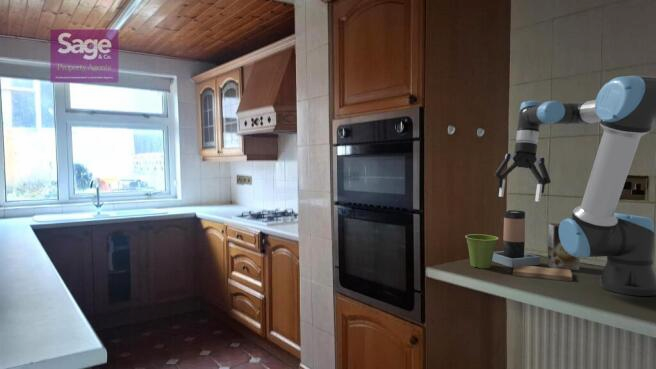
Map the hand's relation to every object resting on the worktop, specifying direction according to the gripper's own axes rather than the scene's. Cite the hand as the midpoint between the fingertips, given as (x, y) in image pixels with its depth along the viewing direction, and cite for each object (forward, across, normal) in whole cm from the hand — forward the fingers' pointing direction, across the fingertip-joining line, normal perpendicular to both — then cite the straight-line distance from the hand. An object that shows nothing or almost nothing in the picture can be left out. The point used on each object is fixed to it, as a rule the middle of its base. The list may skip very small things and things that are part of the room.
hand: (519, 199), depth 162 cm
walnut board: (+25, -7, +11) cm, 29 cm away
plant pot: (+27, +11, 0) cm, 29 cm away
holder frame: (+24, -4, -7) cm, 26 cm away
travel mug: (+25, -4, -7) cm, 26 cm away
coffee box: (+23, -19, +1) cm, 30 cm away
